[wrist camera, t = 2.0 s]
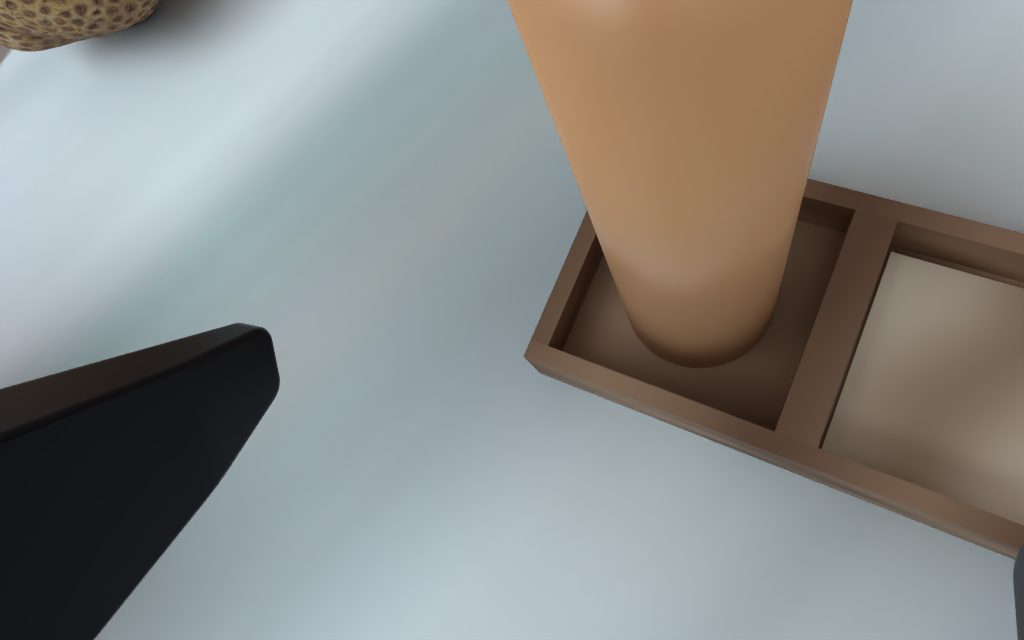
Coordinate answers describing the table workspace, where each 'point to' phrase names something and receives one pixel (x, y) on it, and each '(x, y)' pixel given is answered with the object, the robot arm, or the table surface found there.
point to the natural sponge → (66, 21)
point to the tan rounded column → (689, 150)
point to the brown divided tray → (844, 362)
